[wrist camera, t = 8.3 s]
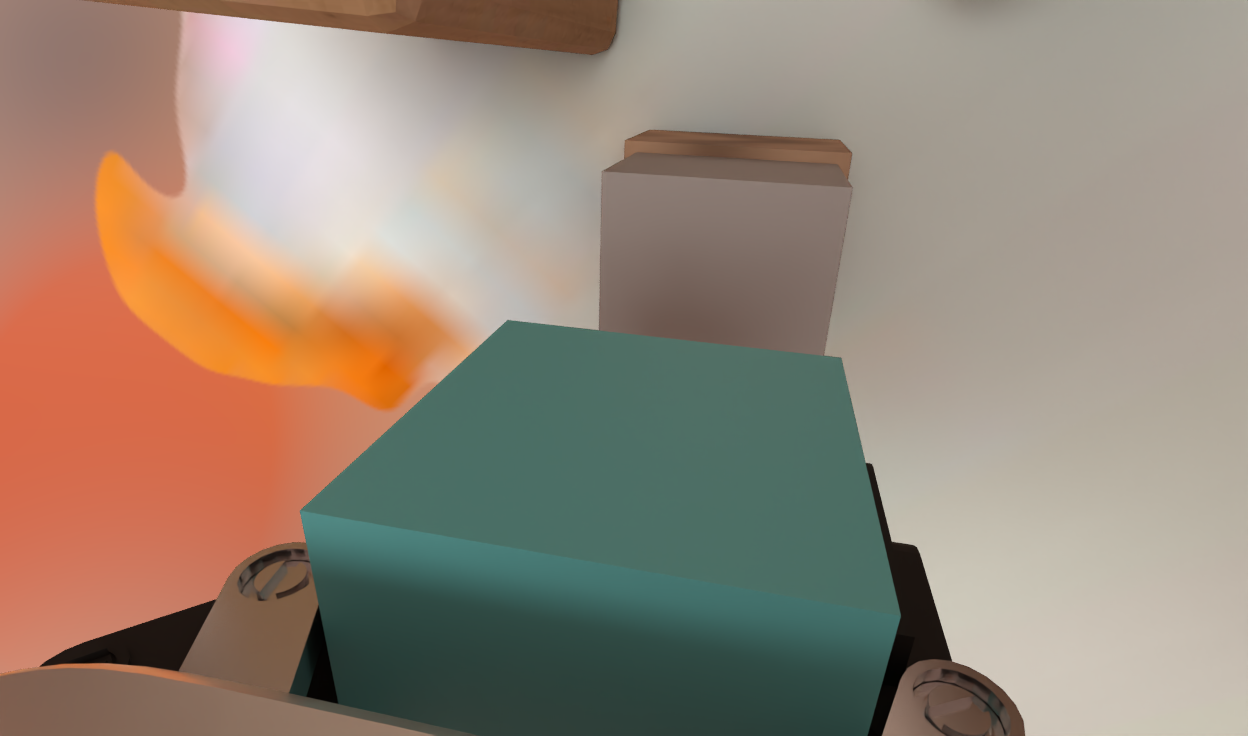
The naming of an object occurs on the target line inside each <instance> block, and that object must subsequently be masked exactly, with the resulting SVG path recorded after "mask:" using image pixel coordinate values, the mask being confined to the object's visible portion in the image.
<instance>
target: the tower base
mask: <svg viewBox="0 0 1248 736" xmlns="http://www.w3.org/2000/svg"><path fill="white" fill-rule="evenodd" d="M636 152H642V153H658V154H675V155H692V156H709V157H726V158H742V159H759V160H776V161H793V162H810V163H826V164H838V166H839V167H840V169H841V170H842V172H843V174H844V175H845V177H846V178H847V180H848V175H849V169H850V163H851V157H852V153H851V152H850V150H849V149H848V148H847V147H846V146H845V145H844V144H843V143H842V142H841V141H840V140H832V139H813V138H794V137H776V136H757V135H738V134H720V133H701V132H682V131H664V130H648V131H646V132H643V133H641V134H639V135H636V136H634V137H632V138H629V139H627V140H625V151H624V159H625V158H627V157H629V156H631V155H633V154H634V153H636Z"/></svg>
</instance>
